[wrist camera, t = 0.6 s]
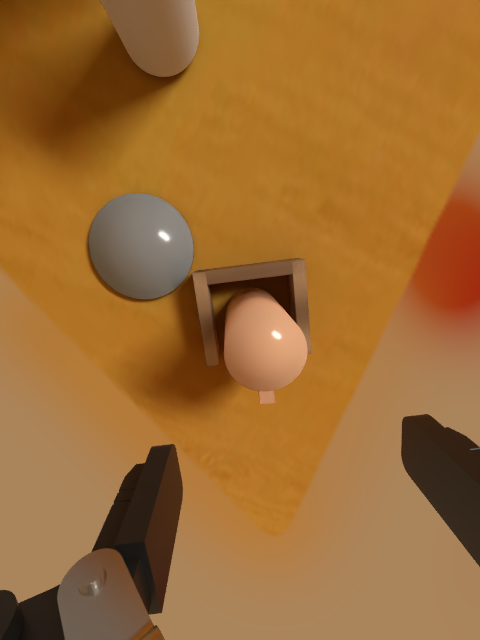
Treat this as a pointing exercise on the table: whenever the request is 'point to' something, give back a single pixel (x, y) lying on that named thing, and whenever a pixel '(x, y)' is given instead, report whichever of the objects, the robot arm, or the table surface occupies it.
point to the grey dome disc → (141, 246)
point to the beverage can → (156, 33)
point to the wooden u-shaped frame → (288, 267)
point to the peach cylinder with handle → (262, 343)
